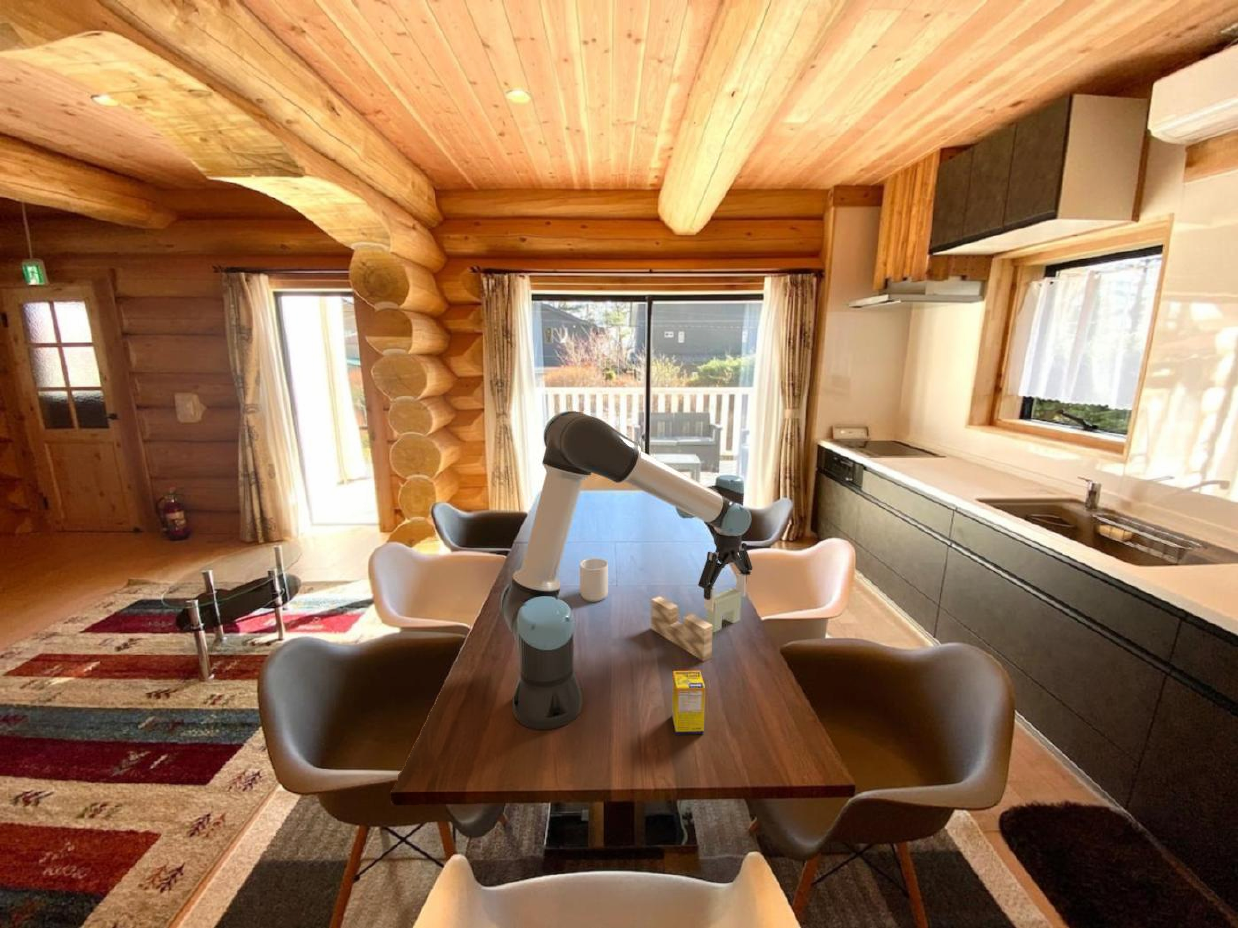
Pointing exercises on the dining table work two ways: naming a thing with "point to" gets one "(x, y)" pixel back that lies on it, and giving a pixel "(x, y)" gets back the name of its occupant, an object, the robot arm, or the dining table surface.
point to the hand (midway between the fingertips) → (725, 601)
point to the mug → (594, 579)
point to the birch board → (682, 628)
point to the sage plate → (725, 608)
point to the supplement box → (688, 702)
